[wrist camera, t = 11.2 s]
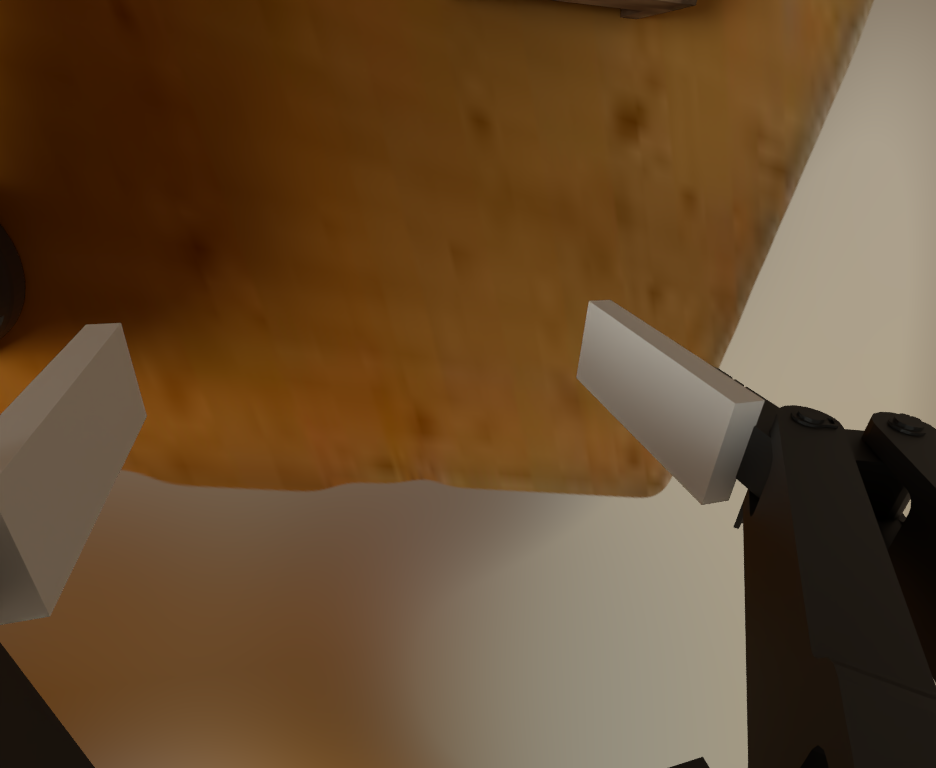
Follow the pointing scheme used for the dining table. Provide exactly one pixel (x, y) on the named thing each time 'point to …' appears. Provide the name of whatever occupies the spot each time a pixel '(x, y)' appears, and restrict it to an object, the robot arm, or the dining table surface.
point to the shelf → (639, 6)
